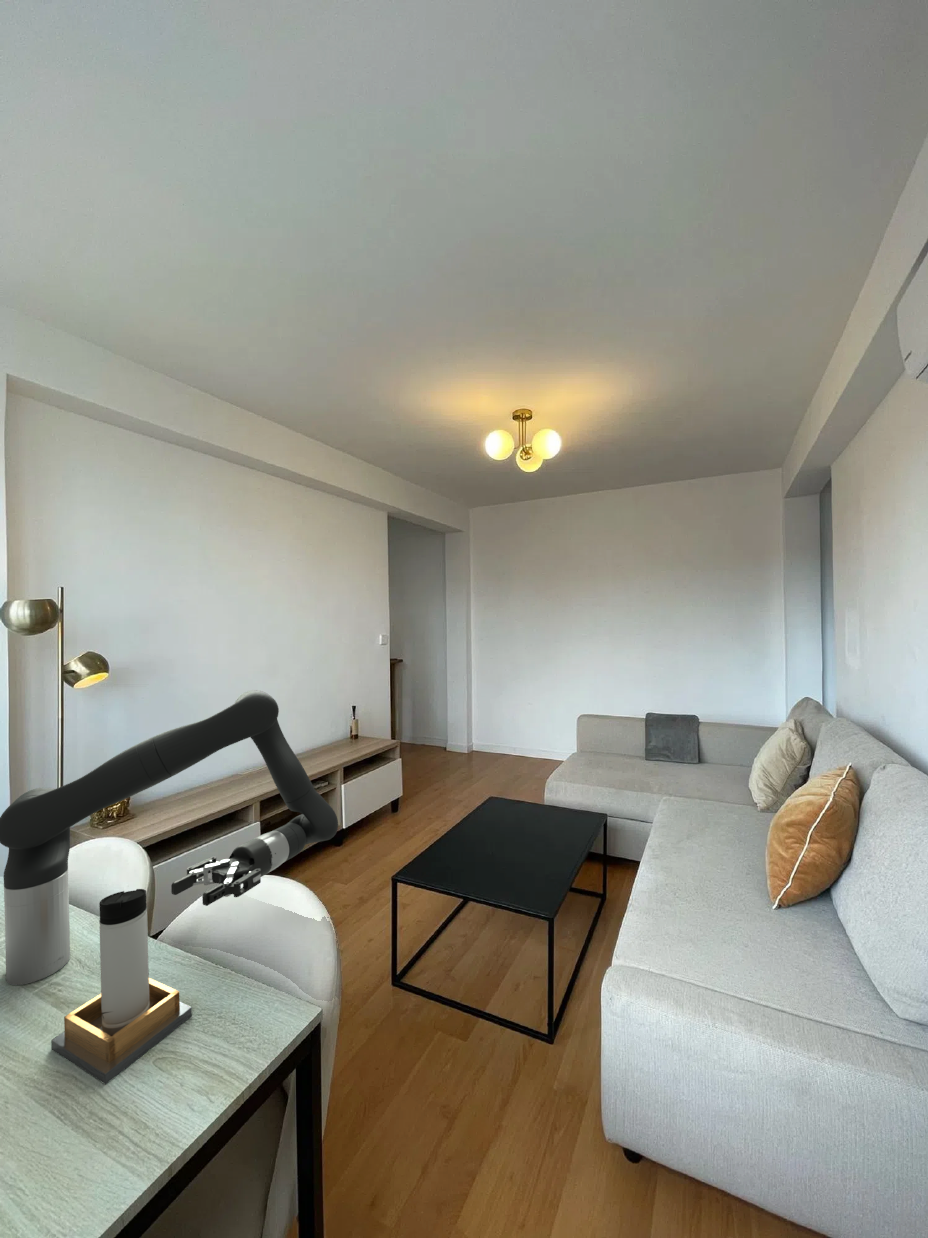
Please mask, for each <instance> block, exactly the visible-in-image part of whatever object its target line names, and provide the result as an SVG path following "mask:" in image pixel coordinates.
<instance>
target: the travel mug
mask: <svg viewBox="0 0 928 1238" xmlns="http://www.w3.org/2000/svg"><path fill="white" fill-rule="evenodd" d="M98 907H99V954H100V956H99V958H100V992H101V993H100V994H101V1006H102V1031H103V1032H105V1033H107V1034H108V1035H114V1034H116V1033H117V1032H118V1031H120V1030H121V1029H123V1028H124V1027H125V1026H127V1025H128V1024H130V1023H131V1022H132V1021H134V1020H135V1019H137V1018H138V1017H139V1016H141V1015H142V1014H143V1013H145V1012H146V1011H148V1010H149V1009H150V1001H149V978H150V975H149V974H150V969H149V935H148V934H149V933H148V905H147V890H146V889H144V888H136V890H128V891H125V890H123V891H119V892H114V893H112V894H110V895H108V896H105V897H104V898H102V899H101V900H100V901H99V905H98Z"/></svg>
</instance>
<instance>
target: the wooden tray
mask: <svg viewBox="0 0 928 1238" xmlns="http://www.w3.org/2000/svg"><path fill="white" fill-rule="evenodd" d="M180 999H181V998H180V991H179V990H177V989H175V988H172V987H171V986H169V985H166V984H164V983H161V982H159V981H157V980H155V979H153V978H150V977H149V1001H150V1009H149V1010H148V1011H146V1012H145V1013H143V1014H142V1015H141V1016H139V1017H138V1018H137V1019H135V1020H134V1021H132V1022H131V1023H130V1024H128V1025H127V1026H125V1027H124V1028H123V1029H121V1030H120V1031H118V1032H117V1033H116V1034H114V1035H108V1034H107V1033H105V1032H103V1031H102V1006H101V993H100V994H98V995H96V996H95V997H94V998H91V999H90V1000H89V1001H87V1002H85V1003H84V1004H82V1005H81V1006H79V1007H78V1008H76V1009H74V1010H73V1011H71V1012H69V1013H68V1014H66V1015H65V1016H63V1018H64V1019H63V1020H64V1022H63V1023H64V1028H63V1029H64V1030H63V1032H61V1033H59V1034H57V1035H56V1036H55V1037H53V1038H52V1039H51V1040H50V1043H51V1044H50V1046H51V1048H50V1049H51V1051H53V1052H54V1053H56V1054H57V1055H59V1056H61V1058H63V1059H65V1060H67V1061H68V1062H70V1063H71V1064H73V1065H74V1066H76V1067H78V1068H79V1069H80V1070H83V1071H84V1072H86V1073H87V1074H89V1075H90V1076H92V1077H93V1078H95V1079H96V1080H98V1081H99V1082H101V1083H103V1084H104V1085H107V1084H108V1083H109V1082H111V1081H112V1080H113V1079H115V1078H116V1077H117V1076H118V1075H119V1074H121V1073H122V1072H124V1070H126V1069H127V1068H128V1067H129V1066H131V1065H132V1064H134V1063H135V1062H136V1061H137V1060H139V1059H140V1058H141V1057H142V1056H143V1055H145V1054H146V1053H147V1052H149V1051H150V1050H151V1049H152V1048H154V1047H155V1046H156V1045H158V1044H159V1043H160V1042H162V1040H164V1039H165V1038H167V1036H169V1035H170V1034H172V1033H173V1032H174V1031H175V1030H176V1029H177V1028H179V1027H180V1026H182V1025H183V1024H185V1022H186V1021H188V1020H189V1019H190V1018H191V1017H192V1016H193V1015H192V1014H193V1009H192V1008H193V1007H192V1006H190V1005H189V1004H186V1003H183V1002H182V1001H180Z"/></svg>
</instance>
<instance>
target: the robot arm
mask: <svg viewBox="0 0 928 1238" xmlns="http://www.w3.org/2000/svg"><path fill="white" fill-rule="evenodd" d="M279 712H280V710H279V704H278V703H277V701H276V699H274V698H273V696H271V695H270V694H268V693H267V692H265V691H263V690H258V689H252V690H247V691H245V692H243V693H241V694H240V695H239V696H238V697H237V698H236V700H235V702H234V703H233V704H232V705H230V706H228V707H226V708H224V709H223V710H221V711H219V712H217V713H215V714H213V715H212V716H209V717H207V718H205V719H202V720H199V721H196V722H192V723H189V724H186V725H182V726H179V727H175V728H173V729H170V730H166V731H164V732H161V733H159V734H156V735H154V736H152V737H150V738H148V739H147V738H146V740H143V741H141V742H138V743H137V744H134V745H133V746H130V747H129V748H126V749H125V750H124V751H122V752H120V753H118V754H116V755H115V756H113V757H111V758H110V759H109V760H107V761H105V762H103V763H101V765H99V766H98V767H95V769H93V770H91V771H90V772H88V773H86V774H85V775H83V776H82V777H79V778H77V779H75V780H74V781H71V782H69V783H67V784H64V785H62V786H60V787H57V788H52V787H36V788H34V789H31V790H29V791H28V790H27V791H26V792H24V793H23V794H21V795H20V796H18V797H17V798H16V799H15V800H14V801H13V802H12V803H11V804H10V805H9V806H8V807H6V809H5V810H4V811H3V812H2V814H1V815H0V844H1V845H2V846H4V847H6V848H8V855H7V860H6V864H5V867H4V871H3V902H4V907H3V908H4V934H5V935H4V939H5V940H4V942H5V943H4V944H5V945H4V947H5V981H6V983H7V984H9V985H13V986H19V985H26V984H30V983H34V982H38V981H40V980H42V979H45V978H47V977H50V976H51V975H52V974H53V975H54V974H55V973H56V972H58V971H59V970H61V969H62V968H63V967H64V966H65V965H67V964H68V962H69V961H70V959H71V941H70V940H71V938H70V937H71V934H70V933H71V931H70V930H71V928H70V897H69V896H70V892H69V890H70V888H69V886H70V885H69V857H70V855H69V854H70V850H71V849H70V848H71V827H73V826H74V825H76V824H77V823H80V822H81V821H83V820H84V819H86V818H88V817H90V816H92V815H94V814H96V813H97V812H99V811H101V810H103V809H106V808H107V807H109V806H113V805H115V804H118V803H120V802H122V801H124V800H126V799H128V798H130V797H132V796H134V795H136V794H137V795H138V793H141V792H143V791H145V790H148V789H150V788H152V787H154V786H156V785H158V784H161V783H162V782H164V781H166V780H167V779H168V780H169V779H170V778H172V777H174V776H176V775H178V774H180V773H181V772H183V771H185V770H186V769H189V768H190V767H192V766H194V765H196V764H197V763H199V762H201V761H203V760H205V759H206V758H208V757H210V756H212V755H213V754H215V753H217V752H219V751H220V750H222V749H224V748H225V749H226V747H229V746H232V745H235V744H237V743H239V742H241V741H243V740H246V739H249V738H250V739H251V740H252V742H253V743H254V745H255V746H256V748H257V749H258V751H259V753H260V755H261V757H262V759H263V760H264V763H265V764H266V768H267V769H268V771H269V773H270V776H271V778H272V780H273V782H274V785H275V787H276V788H277V790H278V792H279V794H280V796H281V798H282V799H283V802H284V804H285V805H286V807H287V808H288V810H290V811H291V812H295V813H300V814H299V815H297V816H295V817H293V818H292V819H290V820H289V822H287V823H286V824H284V825H282V826H280V827H278V828H276V829H273V830H272V831H268V832H266V833H263V834H261V835H259V836H256V837H255V838H253V839H251V840H248V841H246V842H244V843H243V844H240V845H238V846H237V847H235V848H234V849H233V850H232V852H231V854H230V856H229V857H228V858H225V859H221V860H220V861H217V856H215V855H214V856H213V855H212V856H210V857H208V858H207V859H203V860H202V861H200V862H197V863H194V864H193V865H191V866H188V867H186V875H185V876H183V877H181V878H179V879H177V880H175V881H173V882H172V883H171V889H170V890H171V891H170V892H171V893H170V894H172V895H173V896H178V895H179V894H181V893H183V892H184V891H186V890H188V889H191V888H192V887H193V886H198V885H202V884H203V885H204V886H209V885H213V884H217V885H215V886H214V887H211V888H210V889H208V890H206V891H205V892H203V893H202V897H201V899H202V900H201V901H202V905H203V906H205V907H207V906H209V905H211V904H213V903H215V902H217V901H218V900H221V899H222V898H224V897H225V898H229V897H230V896H232V895H233V897H234V898H239V897H241V896H242V895H244V894H245V893H247V892H249V891H250V890H252V889H253V888H255V887H257V886H259V884H261V882H262V881H261V879H262V877H264V876H265V875H267V874H269V873H270V872H272V871H275V870H276V869H277V868H279V867H280V866H281V865H282V864H283V863H285V862H288V861H289V860H290V859H292V858H294V857H295V856H297V855H298V854H299V853H301V852H302V851H303V850H304V849H305V846H306V845H308V844H312V843H321V842H325V841H329V840H331V839H332V838H334V837H335V836H336V834H337V831H338V830H339V829H338V828H339V821H338V820H339V819H338V816H337V813H336V812H335V810H334V809H333V807H332V806H331V805H330V804H329V803H328V802H327V801H326V800H325V798H324V797H323V796H322V795H321V794H319V792H318V791H317V790H316V788H315V787H314V785H313V783H312V781H311V780H310V777H309V775H308V773H307V772H306V770H305V768H304V766H303V765H302V763H301V761H300V760H299V758H298V757H297V755H296V753H295V752H294V751H293V749H292V748H291V746H290V744H289V742H288V741H287V739H286V737H285V736H284V733H283V731H282V728H281V727H280V724H279V721H278V717H279ZM209 874H211V878H209ZM241 885H242V886H241Z"/></svg>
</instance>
